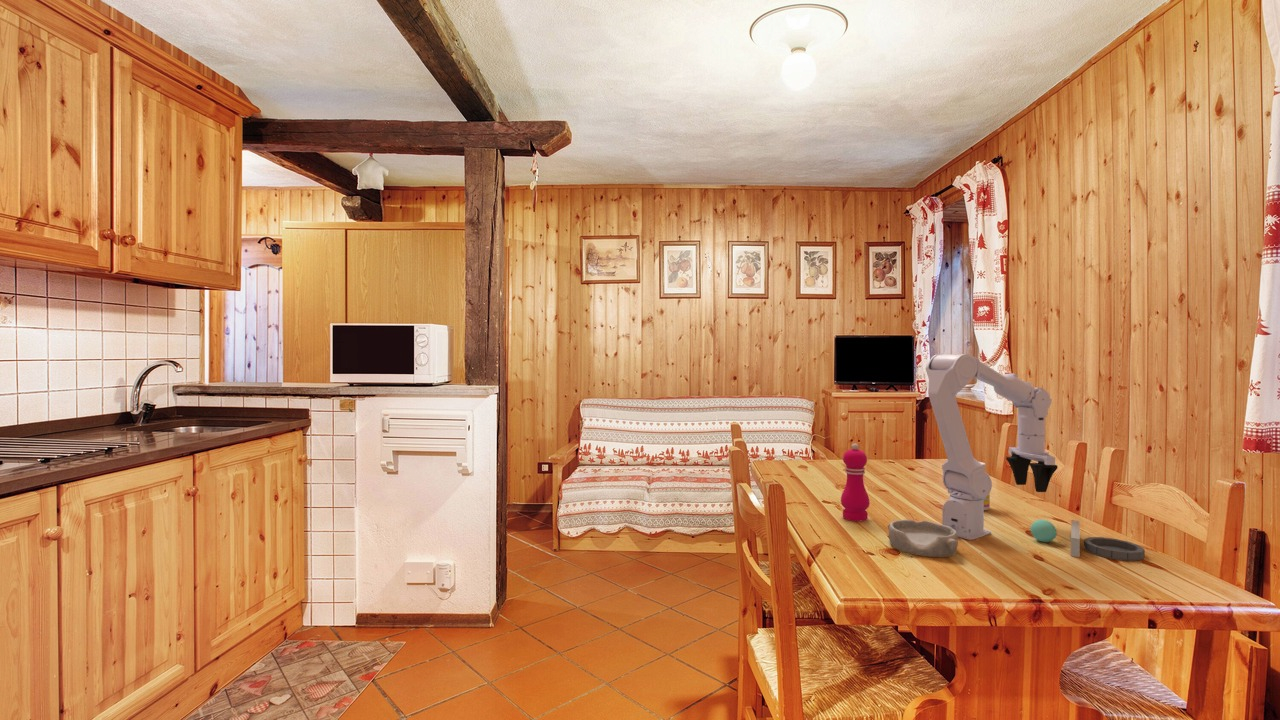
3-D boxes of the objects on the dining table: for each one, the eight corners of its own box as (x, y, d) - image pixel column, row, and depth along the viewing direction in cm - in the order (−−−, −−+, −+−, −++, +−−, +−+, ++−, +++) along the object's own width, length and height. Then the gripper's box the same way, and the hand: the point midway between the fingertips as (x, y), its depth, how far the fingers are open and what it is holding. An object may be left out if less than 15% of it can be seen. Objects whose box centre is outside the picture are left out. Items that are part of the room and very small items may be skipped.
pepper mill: (835, 515, 156) (834, 442, 156) (857, 513, 159) (857, 440, 158) (852, 523, 149) (852, 446, 149) (875, 520, 152) (875, 444, 151)
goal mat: (1133, 564, 120) (1133, 555, 120) (1076, 550, 128) (1076, 542, 128) (1150, 554, 125) (1150, 546, 125) (1095, 542, 133) (1095, 534, 133)
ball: (1050, 546, 131) (1050, 524, 131) (1026, 540, 135) (1026, 519, 135) (1060, 542, 133) (1060, 520, 133) (1036, 536, 138) (1036, 515, 138)
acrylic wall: (1079, 557, 124) (1079, 539, 124) (1070, 556, 125) (1070, 537, 125) (1079, 537, 136) (1079, 521, 136) (1071, 536, 137) (1071, 519, 137)
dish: (966, 561, 122) (966, 538, 122) (896, 557, 125) (896, 534, 125) (944, 539, 137) (944, 518, 136) (882, 536, 139) (882, 515, 139)
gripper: (1068, 438, 138) (1067, 495, 138) (1028, 430, 153) (1027, 481, 153) (1038, 438, 138) (1038, 495, 138) (1001, 430, 153) (1000, 481, 153)
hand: (1030, 488), depth 146 cm, fingers open, 7 cm apart
